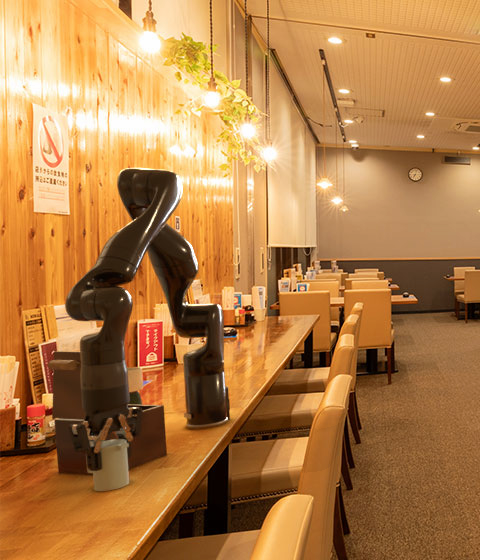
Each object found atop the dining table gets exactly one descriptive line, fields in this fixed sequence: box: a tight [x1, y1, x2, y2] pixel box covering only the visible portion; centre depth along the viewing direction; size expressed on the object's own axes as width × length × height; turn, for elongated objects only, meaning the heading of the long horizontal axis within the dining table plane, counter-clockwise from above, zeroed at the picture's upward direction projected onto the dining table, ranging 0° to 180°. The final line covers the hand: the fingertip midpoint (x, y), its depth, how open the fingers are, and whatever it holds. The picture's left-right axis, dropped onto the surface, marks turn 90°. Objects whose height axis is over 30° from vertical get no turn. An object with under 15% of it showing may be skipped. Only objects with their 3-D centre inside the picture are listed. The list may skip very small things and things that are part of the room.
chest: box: [54, 404, 168, 475], centre depth 146 cm, size 14×14×12 cm
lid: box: [47, 350, 86, 419], centre depth 136 cm, size 14×14×5 cm
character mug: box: [127, 366, 144, 405], centre depth 189 cm, size 11×7×13 cm, turn 30°
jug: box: [86, 439, 130, 492], centre depth 132 cm, size 9×6×9 cm, turn 81°
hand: (110, 464), depth 132 cm, fingers closed on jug, 5 cm apart
